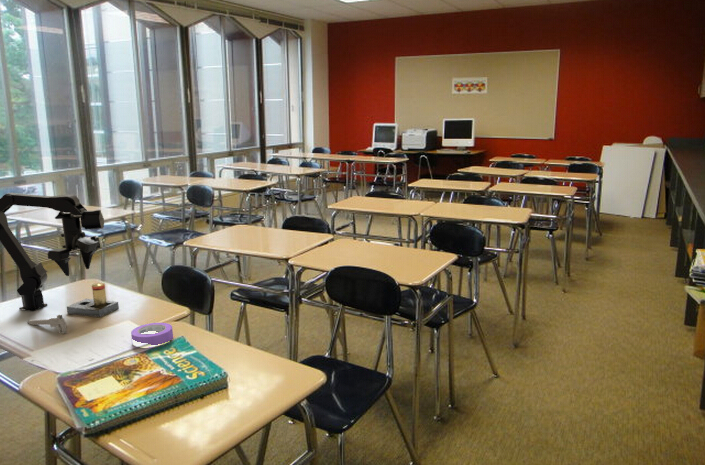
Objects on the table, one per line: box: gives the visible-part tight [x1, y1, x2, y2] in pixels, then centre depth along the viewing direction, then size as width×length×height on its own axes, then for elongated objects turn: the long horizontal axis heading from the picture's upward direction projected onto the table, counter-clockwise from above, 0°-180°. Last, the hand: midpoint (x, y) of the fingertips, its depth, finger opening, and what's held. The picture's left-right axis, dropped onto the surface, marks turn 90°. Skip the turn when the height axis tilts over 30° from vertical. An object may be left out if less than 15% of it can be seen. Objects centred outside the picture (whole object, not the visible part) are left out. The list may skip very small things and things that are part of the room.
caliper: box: [27, 314, 68, 335], centre depth 172 cm, size 20×1×6 cm, turn 60°
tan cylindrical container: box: [91, 282, 108, 308], centre depth 186 cm, size 4×4×10 cm
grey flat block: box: [66, 298, 120, 318], centre depth 187 cm, size 14×9×2 cm, turn 72°
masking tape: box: [130, 322, 174, 345], centre depth 161 cm, size 12×12×4 cm
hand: (77, 272), depth 193 cm, fingers open, 9 cm apart
